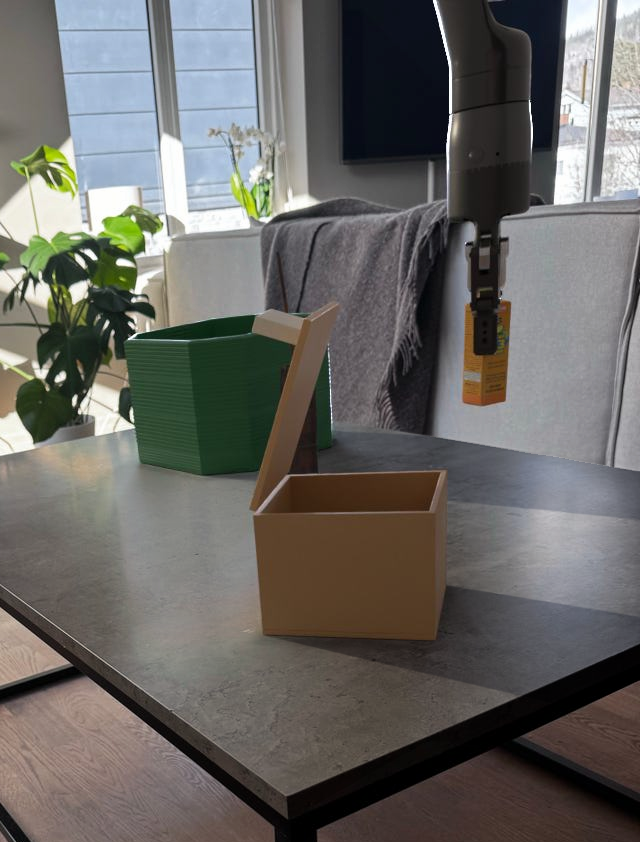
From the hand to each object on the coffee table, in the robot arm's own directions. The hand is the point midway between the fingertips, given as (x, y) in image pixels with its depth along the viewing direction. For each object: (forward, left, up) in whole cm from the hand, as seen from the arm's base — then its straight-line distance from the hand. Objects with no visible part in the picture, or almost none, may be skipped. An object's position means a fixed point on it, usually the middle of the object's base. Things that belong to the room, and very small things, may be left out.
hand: (486, 350), depth 93 cm
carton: (+9, +28, -17) cm, 34 cm away
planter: (+37, -33, -17) cm, 53 cm away
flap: (+13, +28, +1) cm, 31 cm away
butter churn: (+22, -14, -17) cm, 31 cm away
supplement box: (0, 0, -5) cm, 5 cm away
